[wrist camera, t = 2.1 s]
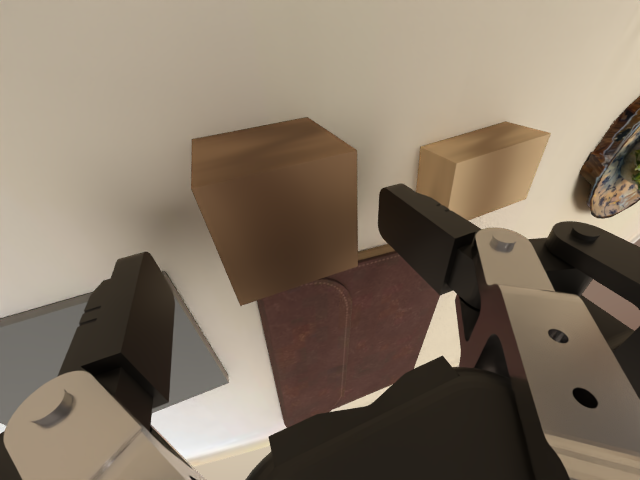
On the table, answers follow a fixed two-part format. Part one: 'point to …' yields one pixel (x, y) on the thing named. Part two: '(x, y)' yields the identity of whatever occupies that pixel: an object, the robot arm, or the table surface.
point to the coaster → (56, 336)
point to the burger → (615, 166)
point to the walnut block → (278, 204)
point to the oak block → (481, 168)
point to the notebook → (346, 333)
